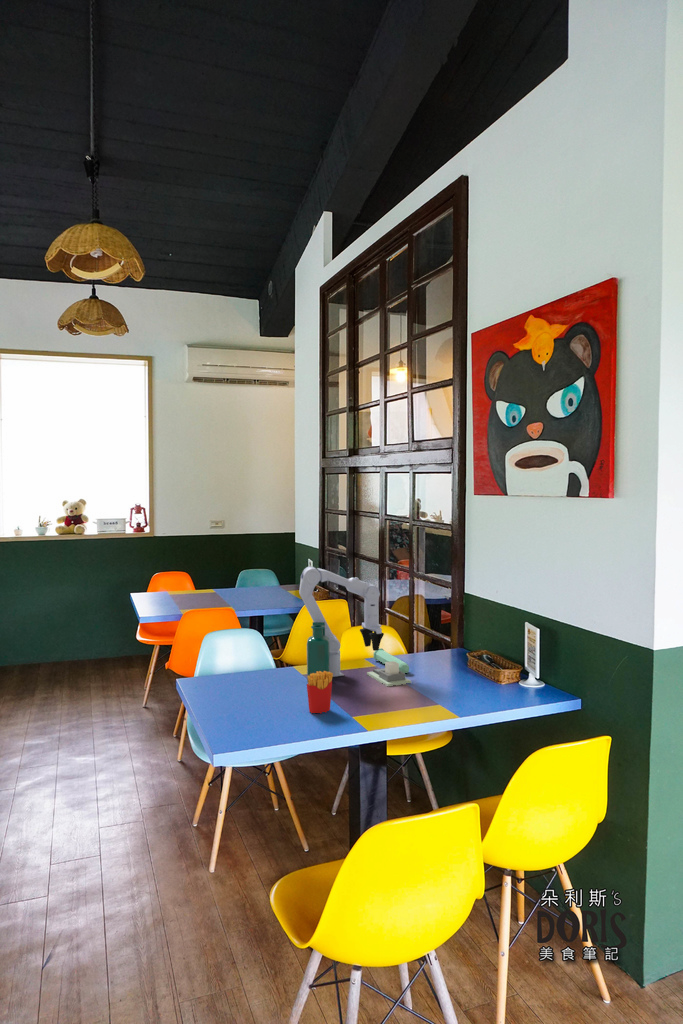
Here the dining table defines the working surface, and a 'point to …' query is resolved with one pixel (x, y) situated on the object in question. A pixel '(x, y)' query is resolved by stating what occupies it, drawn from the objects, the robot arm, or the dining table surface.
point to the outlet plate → (388, 677)
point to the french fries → (319, 691)
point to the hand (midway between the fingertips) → (371, 648)
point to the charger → (391, 667)
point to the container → (390, 659)
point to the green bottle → (318, 650)
